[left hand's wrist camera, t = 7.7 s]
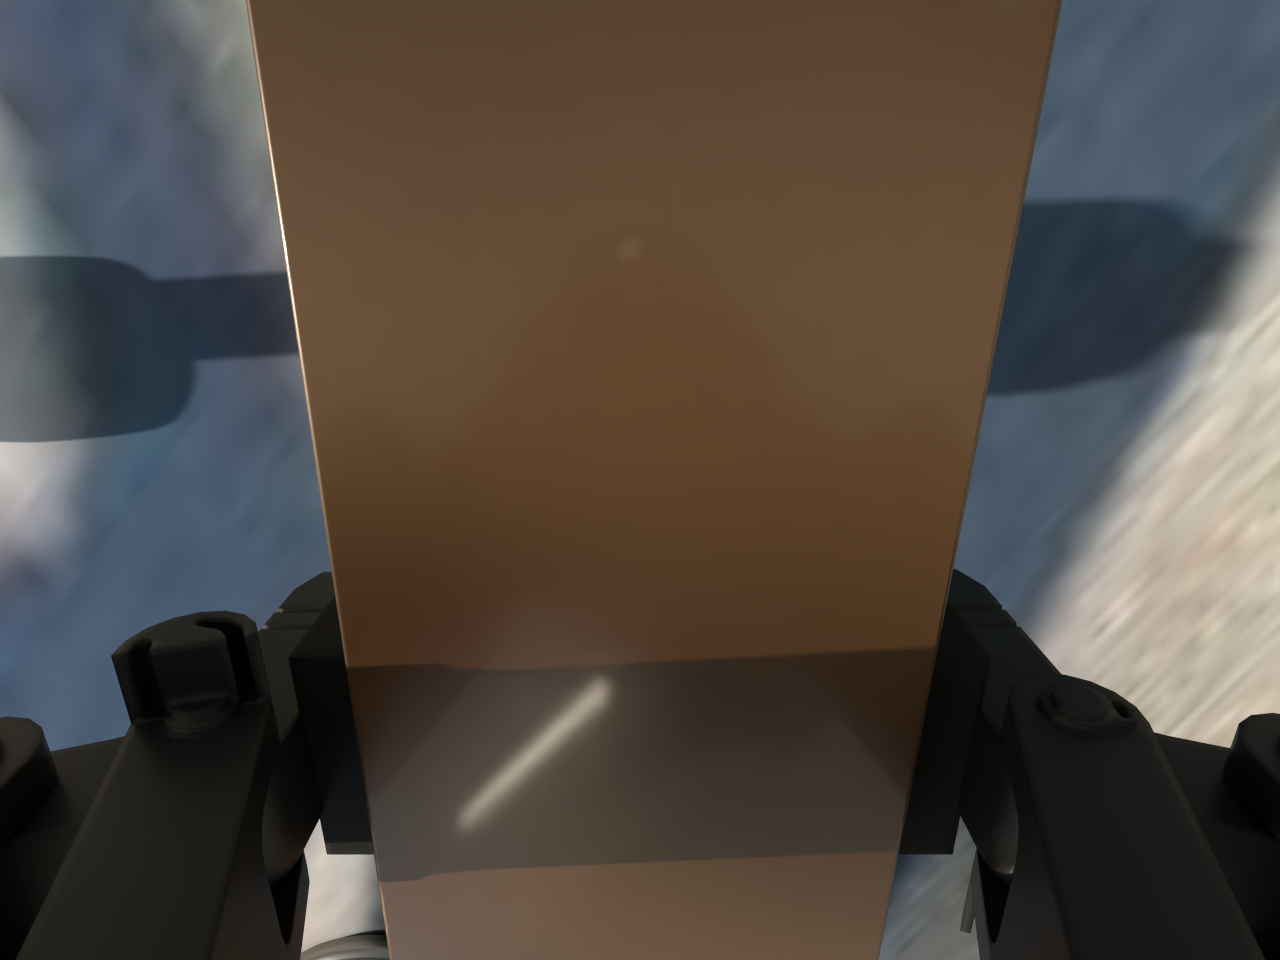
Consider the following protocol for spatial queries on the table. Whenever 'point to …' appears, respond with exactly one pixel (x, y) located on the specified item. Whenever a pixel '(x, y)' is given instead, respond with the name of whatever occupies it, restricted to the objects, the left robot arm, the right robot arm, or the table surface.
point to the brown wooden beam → (644, 439)
